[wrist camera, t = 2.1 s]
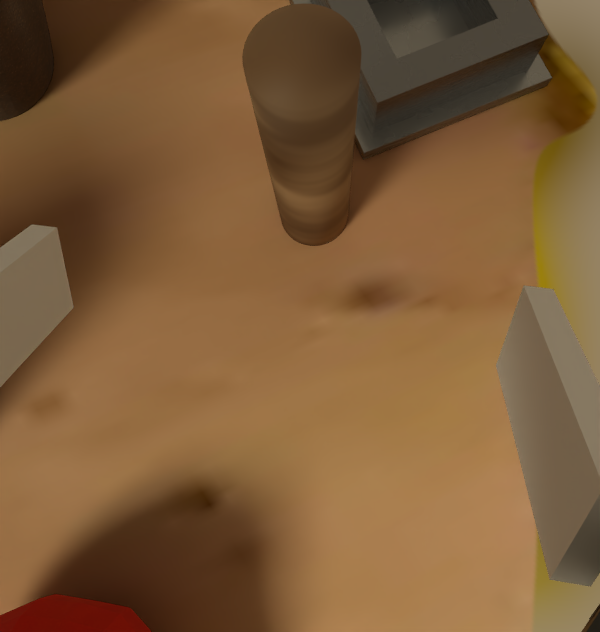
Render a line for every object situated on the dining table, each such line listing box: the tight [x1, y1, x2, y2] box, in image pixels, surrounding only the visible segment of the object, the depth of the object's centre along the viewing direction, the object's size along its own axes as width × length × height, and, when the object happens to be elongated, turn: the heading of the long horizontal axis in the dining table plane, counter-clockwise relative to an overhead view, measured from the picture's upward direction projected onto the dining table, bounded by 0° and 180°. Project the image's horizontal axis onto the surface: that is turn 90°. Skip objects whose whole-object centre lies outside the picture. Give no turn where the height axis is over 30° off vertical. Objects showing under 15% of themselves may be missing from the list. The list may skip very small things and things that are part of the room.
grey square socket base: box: [289, 0, 552, 160], centre depth 32 cm, size 12×12×4 cm
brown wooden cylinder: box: [243, 4, 361, 246], centre depth 25 cm, size 4×4×14 cm
